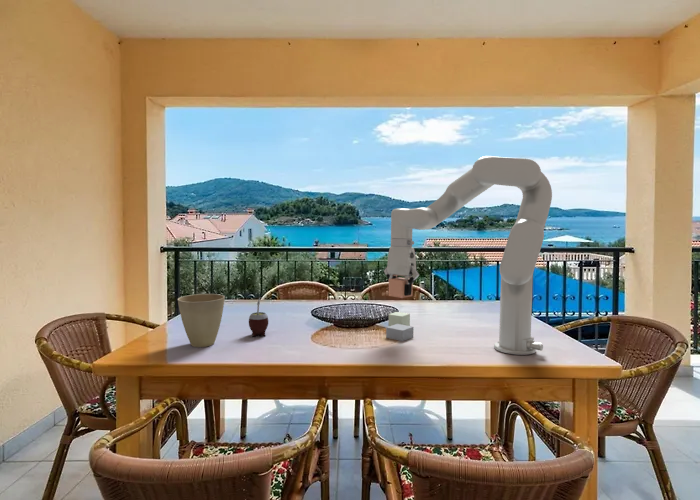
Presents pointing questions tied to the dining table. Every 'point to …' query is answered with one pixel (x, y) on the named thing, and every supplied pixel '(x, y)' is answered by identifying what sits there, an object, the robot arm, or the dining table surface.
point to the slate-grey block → (399, 332)
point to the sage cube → (399, 319)
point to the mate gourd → (258, 322)
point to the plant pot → (201, 317)
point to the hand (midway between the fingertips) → (400, 293)
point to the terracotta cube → (397, 287)
